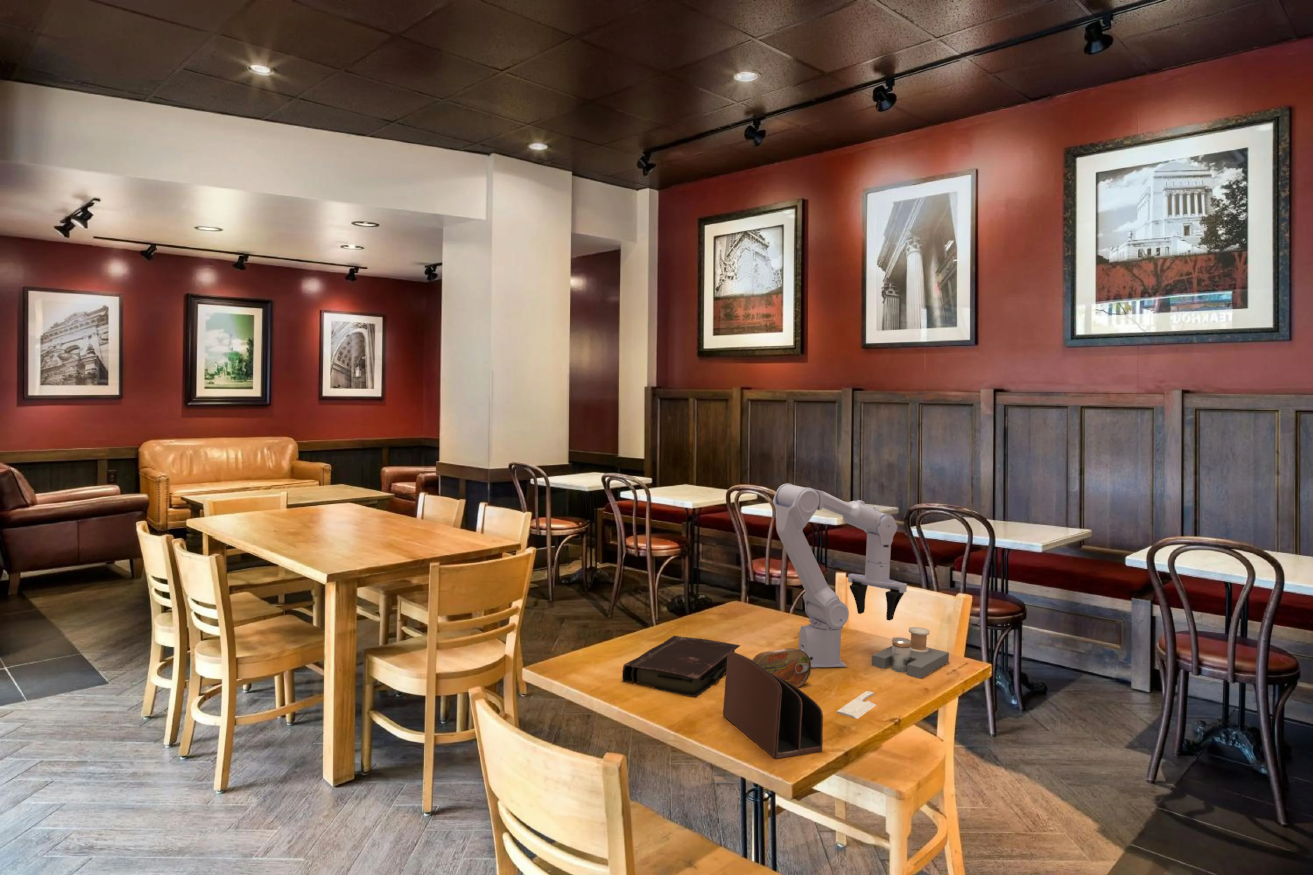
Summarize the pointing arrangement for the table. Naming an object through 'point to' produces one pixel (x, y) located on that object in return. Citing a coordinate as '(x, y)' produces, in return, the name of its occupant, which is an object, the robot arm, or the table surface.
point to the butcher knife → (857, 706)
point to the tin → (786, 664)
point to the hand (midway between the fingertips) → (875, 616)
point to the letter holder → (771, 710)
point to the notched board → (915, 655)
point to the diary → (681, 665)
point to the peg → (900, 654)
